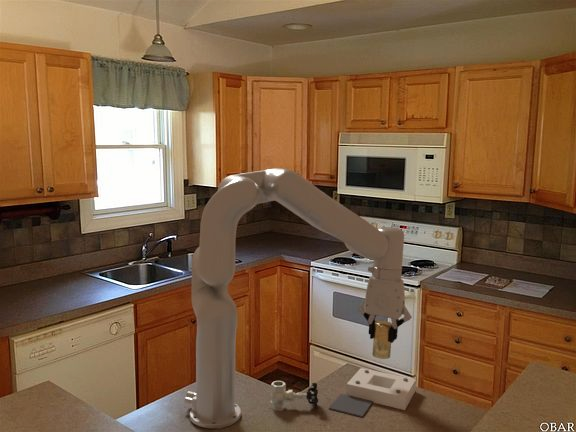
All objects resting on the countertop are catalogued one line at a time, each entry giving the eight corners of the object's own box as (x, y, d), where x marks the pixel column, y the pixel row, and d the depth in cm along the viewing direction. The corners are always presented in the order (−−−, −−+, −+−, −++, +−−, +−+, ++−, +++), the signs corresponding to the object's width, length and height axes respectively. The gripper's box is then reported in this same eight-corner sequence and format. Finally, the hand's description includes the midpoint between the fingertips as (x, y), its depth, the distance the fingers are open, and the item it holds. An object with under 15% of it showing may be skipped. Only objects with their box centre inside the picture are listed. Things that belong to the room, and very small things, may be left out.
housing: (346, 396, 141) (346, 382, 140) (360, 379, 151) (360, 366, 151) (404, 410, 134) (405, 395, 133) (415, 391, 144) (415, 378, 144)
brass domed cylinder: (370, 356, 140) (372, 324, 139) (375, 350, 144) (377, 319, 143) (387, 360, 138) (390, 327, 137) (392, 354, 142) (394, 322, 141)
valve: (270, 414, 130) (317, 413, 131) (270, 389, 129) (318, 389, 130) (269, 401, 137) (314, 401, 138) (270, 378, 136) (315, 377, 137)
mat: (328, 409, 133) (328, 407, 133) (341, 394, 141) (341, 393, 141) (362, 417, 129) (362, 416, 129) (372, 402, 137) (373, 401, 137)
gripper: (352, 271, 139) (348, 337, 141) (415, 281, 131) (410, 350, 133) (361, 267, 145) (357, 329, 147) (422, 275, 138) (416, 341, 140)
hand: (382, 338), depth 140 cm, fingers closed on brass domed cylinder, 4 cm apart
